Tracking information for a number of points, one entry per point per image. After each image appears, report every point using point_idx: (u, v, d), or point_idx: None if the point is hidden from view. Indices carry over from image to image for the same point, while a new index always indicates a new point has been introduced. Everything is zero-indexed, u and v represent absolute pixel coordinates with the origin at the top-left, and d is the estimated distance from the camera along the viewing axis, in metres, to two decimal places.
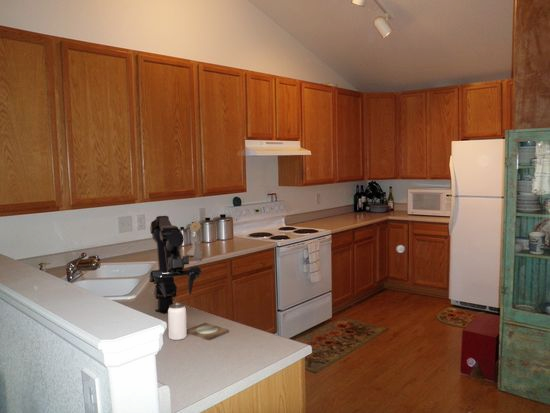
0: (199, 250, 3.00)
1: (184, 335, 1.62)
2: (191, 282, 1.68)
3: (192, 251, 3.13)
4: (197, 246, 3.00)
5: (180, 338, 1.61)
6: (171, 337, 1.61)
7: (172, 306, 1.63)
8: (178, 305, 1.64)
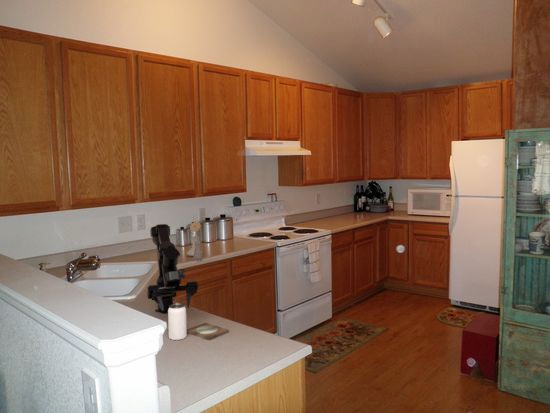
0: (199, 250, 3.00)
1: (184, 335, 1.62)
2: (188, 296, 1.69)
3: (192, 251, 3.13)
4: (197, 246, 3.00)
5: (180, 338, 1.61)
6: (171, 337, 1.61)
7: (172, 306, 1.63)
8: (178, 305, 1.64)
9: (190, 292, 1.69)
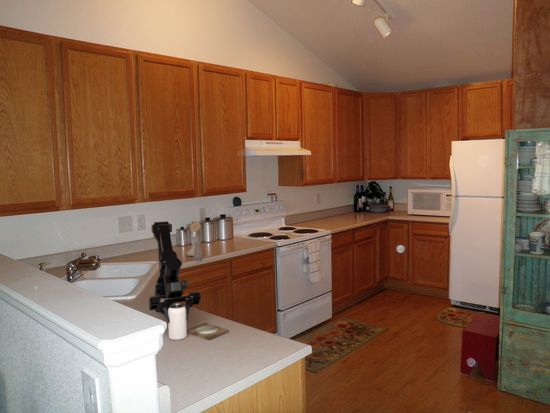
0: (199, 250, 3.00)
1: (184, 335, 1.62)
2: (187, 307, 1.65)
3: (192, 251, 3.13)
4: (197, 246, 3.00)
5: (180, 338, 1.61)
6: (171, 337, 1.61)
7: (172, 306, 1.63)
8: (178, 305, 1.64)
9: (189, 304, 1.65)
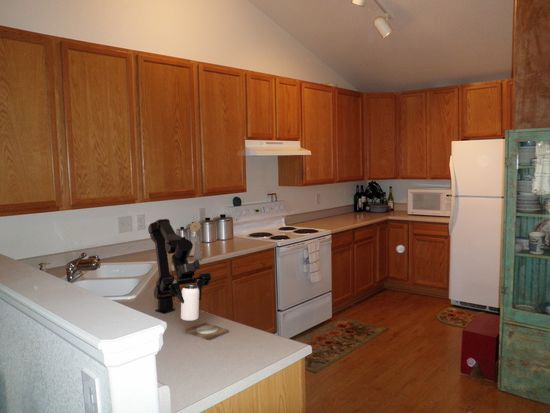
0: (199, 250, 3.00)
1: (197, 316, 1.63)
2: (200, 288, 1.66)
3: (192, 251, 3.13)
4: (197, 246, 3.00)
5: (193, 319, 1.62)
6: (184, 318, 1.61)
7: (185, 287, 1.64)
8: (191, 286, 1.65)
9: (201, 284, 1.67)
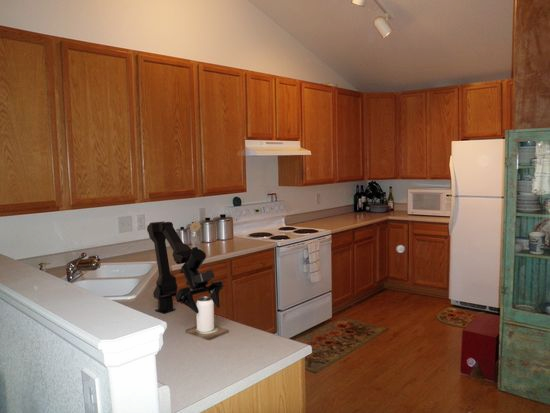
0: None
1: (213, 326, 1.67)
2: (217, 296, 1.71)
3: None
4: (197, 246, 3.00)
5: (211, 329, 1.66)
6: (202, 329, 1.65)
7: (200, 299, 1.66)
8: (204, 298, 1.68)
9: (218, 292, 1.72)
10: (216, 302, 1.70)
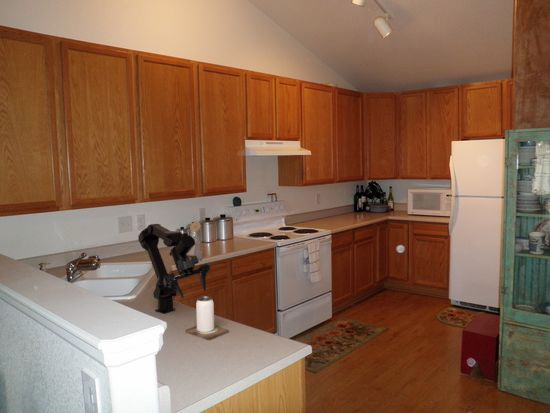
0: (199, 250, 3.00)
1: (213, 326, 1.67)
2: (203, 279, 1.78)
3: (192, 251, 3.13)
4: (197, 246, 3.00)
5: (211, 329, 1.66)
6: (202, 329, 1.65)
7: (200, 299, 1.66)
8: (204, 298, 1.68)
9: (204, 275, 1.78)
10: (203, 285, 1.77)
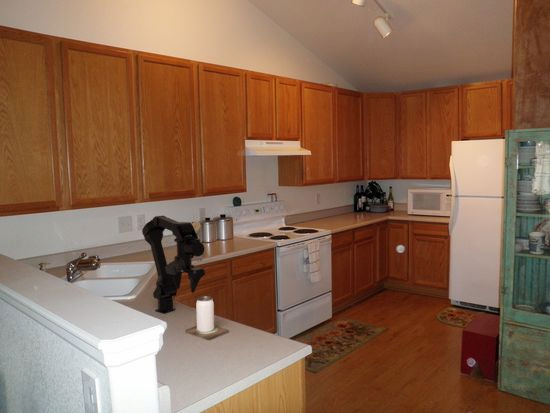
0: None
1: (213, 326, 1.67)
2: (191, 283, 1.78)
3: None
4: None
5: (211, 329, 1.66)
6: (202, 329, 1.65)
7: (200, 299, 1.66)
8: (205, 298, 1.68)
9: (191, 280, 1.77)
10: None
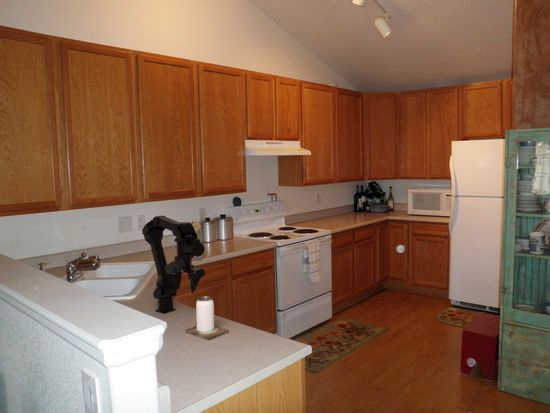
0: None
1: (213, 326, 1.67)
2: (191, 283, 1.78)
3: None
4: None
5: (211, 329, 1.66)
6: (202, 329, 1.65)
7: (200, 299, 1.66)
8: (204, 298, 1.68)
9: (191, 280, 1.77)
10: None
